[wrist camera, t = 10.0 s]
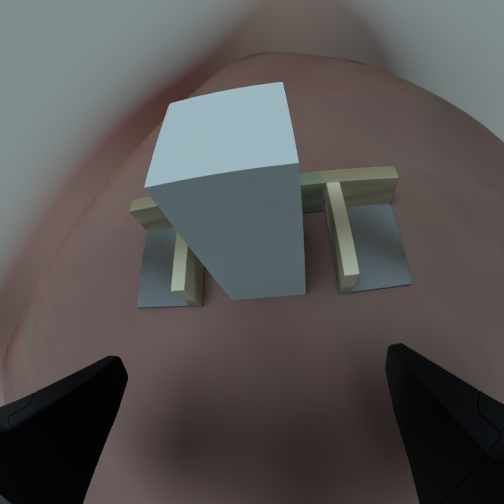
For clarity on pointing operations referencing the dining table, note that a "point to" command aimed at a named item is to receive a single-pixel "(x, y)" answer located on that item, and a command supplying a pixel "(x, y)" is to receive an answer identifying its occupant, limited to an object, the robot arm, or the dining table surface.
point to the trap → (313, 200)
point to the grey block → (234, 188)
